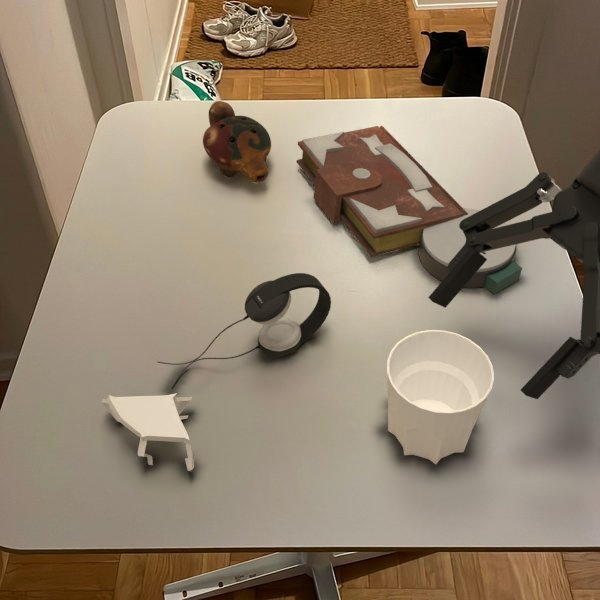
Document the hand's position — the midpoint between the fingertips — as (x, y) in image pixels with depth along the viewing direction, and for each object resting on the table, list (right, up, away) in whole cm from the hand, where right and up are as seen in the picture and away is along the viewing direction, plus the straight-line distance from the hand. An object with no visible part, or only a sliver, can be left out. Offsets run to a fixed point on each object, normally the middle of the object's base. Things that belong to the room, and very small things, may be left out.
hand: (479, 346), depth 71 cm
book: (-7, +18, +33) cm, 38 cm away
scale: (+4, +10, +24) cm, 26 cm away
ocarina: (-26, +24, +38) cm, 52 cm away
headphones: (-23, -2, +13) cm, 26 cm away
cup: (-4, -9, +6) cm, 11 cm away
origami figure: (-33, -10, +6) cm, 35 cm away
